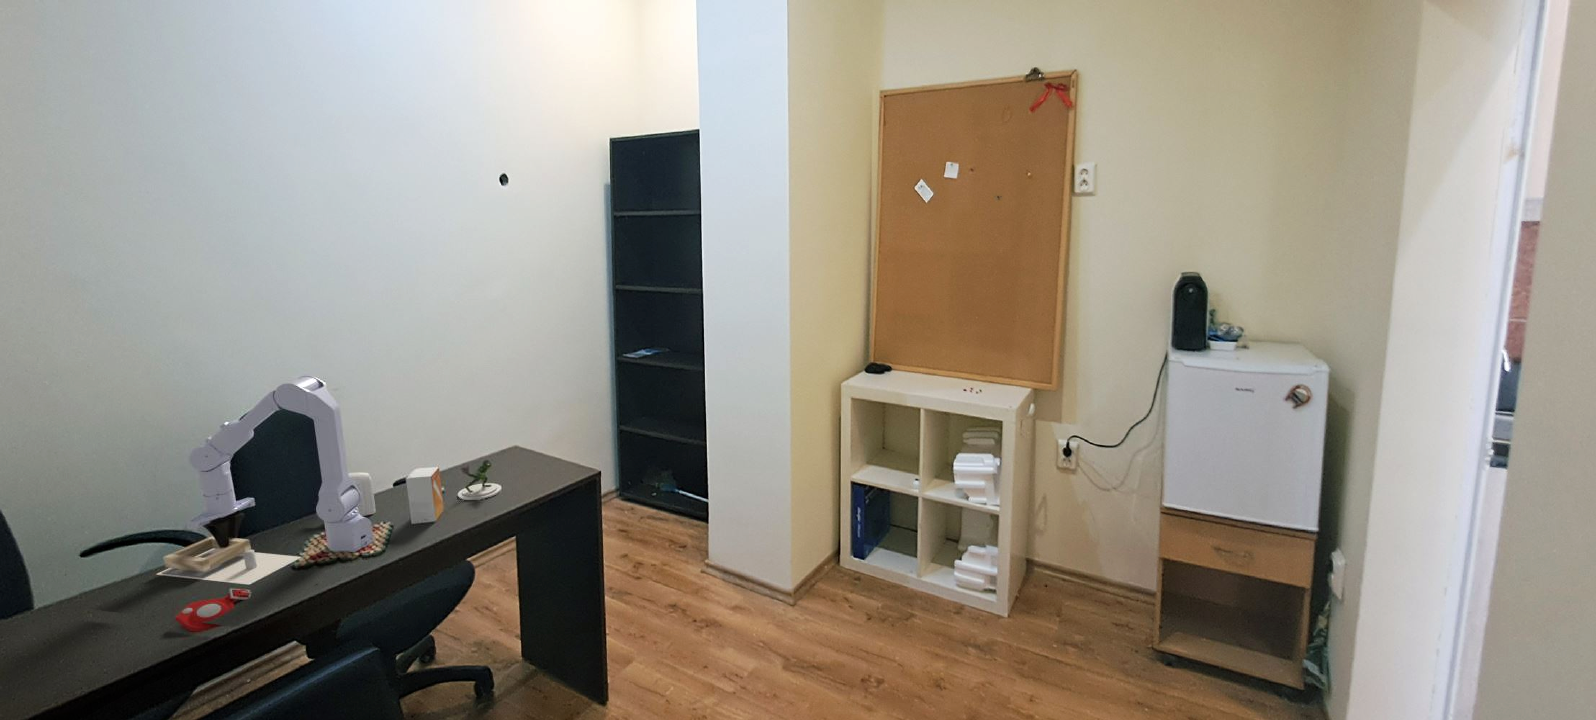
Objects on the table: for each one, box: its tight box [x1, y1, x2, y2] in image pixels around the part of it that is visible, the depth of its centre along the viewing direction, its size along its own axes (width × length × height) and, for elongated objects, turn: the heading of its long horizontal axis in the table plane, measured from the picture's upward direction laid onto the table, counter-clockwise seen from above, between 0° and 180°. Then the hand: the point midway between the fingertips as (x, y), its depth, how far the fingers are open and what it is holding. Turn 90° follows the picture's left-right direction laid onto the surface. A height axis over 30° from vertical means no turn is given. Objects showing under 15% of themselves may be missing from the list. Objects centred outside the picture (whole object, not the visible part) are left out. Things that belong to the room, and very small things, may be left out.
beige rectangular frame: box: [162, 535, 252, 572], centre depth 161 cm, size 11×11×2 cm
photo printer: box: [348, 472, 376, 517], centre depth 190 cm, size 10×4×12 cm, turn 123°
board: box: [155, 549, 302, 585], centre depth 160 cm, size 26×13×6 cm, turn 78°
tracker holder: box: [174, 588, 252, 633], centre depth 142 cm, size 12×4×10 cm
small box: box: [405, 466, 445, 525], centre depth 188 cm, size 8×6×13 cm
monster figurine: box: [457, 459, 503, 501], centre depth 205 cm, size 12×12×10 cm
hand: (228, 545), depth 166 cm, fingers closed on beige rectangular frame, 1 cm apart
